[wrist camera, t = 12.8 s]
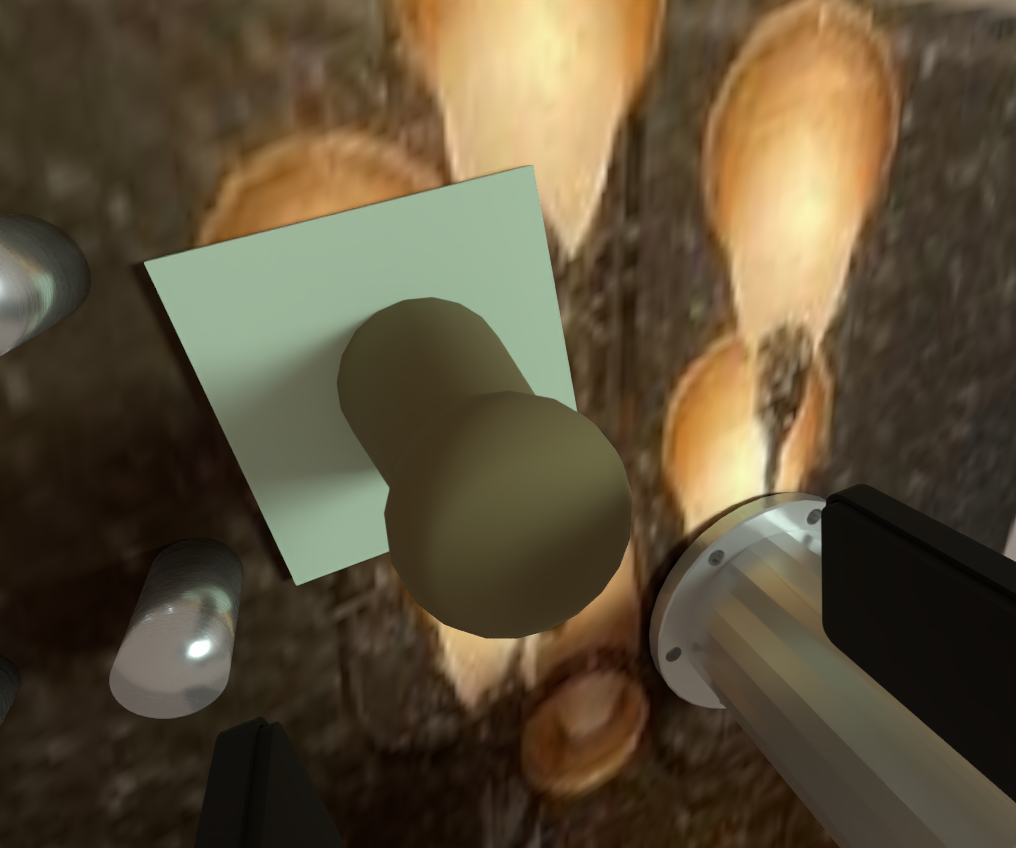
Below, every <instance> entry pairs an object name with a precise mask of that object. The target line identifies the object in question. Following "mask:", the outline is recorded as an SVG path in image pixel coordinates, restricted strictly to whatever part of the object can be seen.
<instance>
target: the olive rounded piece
mask: <svg viewBox="0 0 1016 848" xmlns="http://www.w3.org/2000/svg"><path fill="white" fill-rule="evenodd" d="M337 388H338V394H339V401H340V407H341V410H342V412H343V414H344V416H345V418H346V420H347V422H348V423H349V425H350V427H351V429H352V431H353V433H354V434H355V436H356V437H357V439H358V440H359V442H360V443H361V445H362V447H363V448H364V450H365V451H366V453H367V454H368V456H369V457H370V459H371V461H372V462H373V464H374V465H375V467H376V468H377V470H378V471H379V473H380V475H381V476H382V478H383V479H384V481H385V482H386V484H387V485H388V487H389V493H388V497H387V502H386V506H385V510H384V518H385V525H386V533H387V540H388V547H389V552H390V556H391V561H392V564H393V566H394V568H395V569H396V571H397V573H398V574H399V576H400V578H401V580H402V581H403V583H404V585H405V587H406V588H407V590H408V592H409V593H410V594H411V596H412V597H413V598H414V599H415V601H416V602H417V603H418V605H420V606H421V607H422V608H424V609H425V610H426V611H427V612H429V613H430V614H431V615H433V616H434V617H435V618H436V619H438V620H439V621H440V622H442V623H443V624H445V625H447V626H450V627H453V628H455V629H458V630H461V631H464V632H468V633H471V634H474V635H477V636H480V637H483V638H521V637H525V636H528V635H532V634H536V633H540V632H543V631H547V630H550V629H551V628H553V627H555V626H557V625H559V624H561V623H563V622H564V621H566V620H568V619H570V618H572V617H574V616H575V615H577V614H578V613H579V612H581V611H582V610H583V609H584V608H585V607H586V606H587V605H588V604H590V603H591V602H592V601H593V600H594V599H595V598H596V597H597V596H599V595H600V594H601V593H602V591H603V590H604V589H605V587H606V586H607V584H608V583H609V581H610V580H611V578H612V577H613V576H614V574H615V573H616V571H617V570H618V568H619V567H620V564H621V562H622V559H623V556H624V553H625V550H626V548H627V545H628V542H629V539H630V527H631V506H632V492H631V489H630V486H629V482H628V479H627V476H626V472H625V469H624V466H623V463H622V461H621V459H620V458H619V456H618V454H617V452H616V450H615V449H614V447H613V446H612V445H611V444H610V442H609V441H608V440H607V439H606V437H605V436H604V435H603V434H602V432H601V431H600V430H599V429H598V427H597V426H596V425H595V424H594V423H592V422H591V421H590V420H589V419H587V418H586V417H585V416H583V415H582V414H580V413H578V412H576V411H575V410H573V409H571V408H570V407H568V406H566V405H564V404H563V403H561V402H559V401H557V400H556V399H553V398H548V397H543V396H537V395H535V393H534V392H533V390H532V389H531V387H530V386H529V384H528V382H527V381H526V379H525V378H524V376H523V375H522V373H521V371H520V370H519V368H518V367H517V365H516V364H515V362H514V360H513V359H512V357H511V356H510V354H509V353H508V351H507V349H506V348H505V346H504V345H503V343H502V342H501V340H500V338H499V337H498V336H497V334H496V333H495V332H494V331H493V330H492V328H491V327H490V326H489V325H488V324H487V322H486V321H485V320H484V319H483V317H481V316H480V315H478V314H476V313H475V312H473V311H471V310H470V309H468V308H467V307H465V306H463V305H462V304H460V303H457V302H452V301H448V300H444V299H439V298H435V297H427V298H417V299H407V300H402V301H400V302H398V303H396V304H393V305H391V306H389V307H386V308H384V309H382V310H380V311H377V312H376V313H375V314H374V315H373V316H372V317H371V318H370V319H368V320H367V321H366V322H365V323H364V324H363V325H362V326H361V327H360V328H358V329H357V330H356V331H355V333H354V335H353V337H352V338H351V340H350V342H349V344H348V345H347V347H346V349H345V351H344V353H343V354H342V357H341V362H340V368H339V373H338V378H337Z"/></svg>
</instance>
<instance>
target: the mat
mask: <svg viewBox="0 0 1016 848" xmlns="http://www.w3.org/2000/svg"><path fill="white" fill-rule="evenodd" d="M144 264H145V266H146V268H147V271H148V273H149V275H150V277H151V279H152V281H153V283H154V285H155V288H156V290H157V292H158V294H159V296H160V298H161V300H162V302H163V304H164V307H165V309H166V311H167V313H168V315H169V317H170V319H171V321H172V323H173V326H174V328H175V330H176V332H177V334H178V336H179V338H180V340H181V343H182V345H183V347H184V349H185V351H186V353H187V355H188V357H189V359H190V362H191V364H192V366H193V368H194V370H195V372H196V374H197V376H198V378H199V381H200V383H201V385H202V387H203V389H204V391H205V393H206V395H207V398H208V400H209V402H210V404H211V406H212V408H213V410H214V412H215V414H216V417H217V419H218V421H219V423H220V425H221V427H222V429H223V431H224V433H225V436H226V438H227V440H228V442H229V444H230V446H231V448H232V450H233V453H234V455H235V457H236V459H237V461H238V463H239V465H240V467H241V469H242V472H243V474H244V476H245V478H246V480H247V482H248V484H249V486H250V489H251V491H252V493H253V495H254V497H255V499H256V501H257V503H258V505H259V508H260V510H261V512H262V514H263V516H264V518H265V520H266V522H267V524H268V527H269V529H270V531H271V533H272V535H273V537H274V539H275V541H276V544H277V546H278V548H279V550H280V552H281V554H282V556H283V558H284V560H285V563H286V565H287V567H288V569H289V571H290V573H291V575H292V577H293V579H294V582H295V584H296V586H297V585H299V584H302V583H305V582H307V581H310V580H313V579H316V578H318V577H321V576H324V575H326V574H329V573H332V572H334V571H337V570H340V569H342V568H345V567H348V566H351V565H353V564H356V563H359V562H361V561H364V560H367V559H369V558H372V557H375V556H378V555H380V554H383V553H386V552H388V551H389V547H388V540H387V533H386V525H385V518H384V510H385V506H386V502H387V497H388V493H389V487H388V485H387V484H386V482H385V481H384V479H383V478H382V476H381V475H380V473H379V471H378V470H377V468H376V467H375V465H374V464H373V462H372V461H371V459H370V457H369V456H368V454H367V453H366V451H365V450H364V448H363V447H362V445H361V443H360V442H359V440H358V439H357V437H356V436H355V434H354V433H353V431H352V429H351V427H350V425H349V423H348V422H347V420H346V418H345V416H344V414H343V412H342V410H341V407H340V401H339V394H338V388H337V378H338V373H339V368H340V362H341V357H342V354H343V353H344V351H345V349H346V347H347V345H348V344H349V342H350V340H351V338H352V337H353V335H354V333H355V331H356V330H357V329H358V328H360V327H361V326H362V325H363V324H364V323H365V322H366V321H367V320H368V319H370V318H371V317H372V316H373V315H374V314H375V313H376V312H377V311H380V310H382V309H384V308H386V307H389V306H391V305H393V304H396V303H398V302H400V301H402V300H407V299H417V298H427V297H435V298H439V299H444V300H448V301H452V302H457V303H460V304H462V305H463V306H465V307H467V308H468V309H470V310H471V311H473V312H475V313H476V314H478V315H480V316H481V317H483V319H484V320H485V321H486V322H487V324H488V325H489V326H490V327H491V328H492V330H493V331H494V332H495V333H496V334H497V336H498V337H499V338H500V340H501V342H502V343H503V345H504V346H505V348H506V349H507V351H508V353H509V354H510V356H511V357H512V359H513V360H514V362H515V364H516V365H517V367H518V368H519V370H520V371H521V373H522V375H523V376H524V378H525V379H526V381H527V382H528V384H529V386H530V387H531V389H532V390H533V392H534V393H535V395H537V396H543V397H548V398H553V399H556V400H557V401H559V402H561V403H563V404H564V405H566V406H568V407H570V408H571V409H573V410H575V411H576V412H577V408H576V403H575V397H574V392H573V386H572V380H571V375H570V369H569V363H568V358H567V352H566V347H565V341H564V335H563V330H562V324H561V319H560V313H559V307H558V302H557V296H556V290H555V285H554V279H553V274H552V268H551V262H550V257H549V251H548V245H547V240H546V234H545V229H544V223H543V217H542V212H541V206H540V200H539V195H538V189H537V184H536V178H535V172H534V167H533V165H527V166H523V167H519V168H515V169H511V170H507V171H503V172H499V173H495V174H491V175H487V176H483V177H479V178H475V179H471V180H467V181H463V182H459V183H455V184H451V185H447V186H443V187H439V188H435V189H431V190H427V191H423V192H419V193H415V194H411V195H407V196H403V197H399V198H395V199H391V200H387V201H383V202H379V203H375V204H371V205H367V206H363V207H359V208H355V209H351V210H347V211H343V212H339V213H334V214H330V215H326V216H322V217H318V218H314V219H310V220H306V221H302V222H298V223H294V224H290V225H286V226H282V227H278V228H274V229H270V230H266V231H262V232H258V233H254V234H250V235H246V236H242V237H238V238H234V239H230V240H226V241H222V242H218V243H214V244H210V245H206V246H202V247H198V248H194V249H190V250H186V251H182V252H178V253H174V254H170V255H166V256H162V257H158V258H154V259H150V260H147V261H145V262H144Z"/></svg>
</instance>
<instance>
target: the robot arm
mask: <svg viewBox="0 0 1016 848" xmlns="http://www.w3.org/2000/svg"><path fill="white" fill-rule="evenodd" d="M649 641H650V653H651V655H652V658H653V661H654V664H655V667H656V669H657V670H658V672H659V673H660V674H661V676H662V677H663V679H664V680H665V682H666V683H667V685H668V686H669V687H670V688H671V689H672V690H673V691H674V692H675V693H676V694H677V695H678V696H679V697H680V698H682V699H684V700H686V701H688V702H689V703H691V704H694V705H698V706H702V707H706V708H726V709H727V710H728V711H729V712H730V714H731V715H732V716H733V717H734V718H735V720H736V721H737V722H738V723H739V725H740V726H741V727H742V728H743V729H744V731H745V732H746V733H747V734H748V736H749V737H750V738H751V739H752V741H753V742H754V743H755V744H756V745H757V747H758V748H759V749H760V750H761V752H762V753H763V754H764V755H765V756H766V758H767V759H768V760H769V761H770V763H771V764H772V765H773V766H774V768H775V769H776V770H777V771H778V772H779V774H780V775H781V776H782V777H783V779H784V780H785V781H786V782H787V783H788V785H789V786H790V787H791V788H792V790H793V791H794V792H795V793H796V794H797V796H798V797H799V798H800V799H801V801H802V802H803V803H804V804H805V806H806V807H807V808H808V809H809V810H810V812H811V813H812V814H813V815H814V817H815V818H816V819H817V820H818V821H819V823H820V824H821V825H822V826H823V828H824V829H825V830H826V831H827V832H828V834H829V835H830V836H831V837H832V839H833V840H834V841H835V842H836V844H837V845H838V846H839V847H840V848H1016V562H1015V561H1013V560H1011V559H1009V558H1007V557H1005V556H1004V555H1002V554H1000V553H998V552H996V551H994V550H992V549H990V548H988V547H986V546H984V545H982V544H980V543H979V542H977V541H975V540H973V539H971V538H969V537H967V536H965V535H963V534H961V533H959V532H957V531H955V530H953V529H952V528H950V527H948V526H946V525H944V524H942V523H940V522H938V521H936V520H934V519H932V518H930V517H928V516H927V515H925V514H923V513H921V512H919V511H917V510H915V509H913V508H911V507H909V506H907V505H905V504H903V503H902V502H900V501H898V500H896V499H894V498H892V497H890V496H888V495H886V494H884V493H882V492H880V491H878V490H877V489H875V488H873V487H871V486H868V485H865V484H858V485H855V486H853V487H850V488H847V489H845V490H842V491H840V492H837V493H835V494H832V495H830V496H829V497H828V498H827V500H824V499H823V498H821V497H818V496H814V495H810V494H806V493H781V494H777V495H772V496H767V497H763V498H760V499H758V500H756V501H753V502H751V503H748V504H746V505H743V506H741V507H739V508H738V509H736V510H734V511H733V512H731V513H729V514H728V515H726V516H724V517H723V518H721V519H719V520H718V521H717V522H716V523H714V524H713V525H712V526H711V527H709V528H708V529H707V530H706V531H705V532H703V533H702V534H701V535H700V536H699V537H698V538H697V539H696V540H695V541H694V542H693V543H692V544H691V545H690V546H689V548H688V549H687V550H686V551H685V552H684V553H683V554H682V556H681V557H680V558H679V560H678V561H677V563H676V564H675V565H674V567H673V568H672V570H671V571H670V572H669V574H668V576H667V578H666V580H665V582H664V584H663V586H662V588H661V590H660V592H659V594H658V597H657V600H656V603H655V606H654V609H653V612H652V615H651V623H650V631H649ZM194 848H344V847H343V842H342V839H341V836H340V834H339V831H338V829H337V828H336V826H335V824H334V822H333V820H332V818H331V816H330V814H329V813H328V811H327V809H326V807H325V805H324V803H323V801H322V800H321V798H320V796H319V794H318V792H317V790H316V788H315V786H314V785H313V783H312V781H311V779H310V777H309V775H308V773H307V772H306V770H305V768H304V766H303V764H302V762H301V760H300V758H299V757H298V755H297V753H296V751H295V749H294V747H293V745H292V744H291V742H290V740H289V738H288V736H287V734H286V732H285V730H284V729H283V727H282V725H281V724H280V723H279V722H274V723H272V724H269V725H268V723H267V722H266V720H265V719H264V718H262V717H259V718H256V719H254V720H251V721H248V722H246V723H243V724H241V725H238V726H236V727H233V728H230V729H228V730H225V731H223V732H221V733H220V734H219V735H218V737H217V740H216V743H215V748H214V753H213V758H212V763H211V768H210V773H209V777H208V782H207V787H206V792H205V797H204V802H203V807H202V812H201V817H200V822H199V827H198V832H197V837H196V841H195V846H194Z"/></svg>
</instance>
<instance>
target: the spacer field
mask: <svg viewBox="0 0 1016 848" xmlns="http://www.w3.org/2000/svg"><path fill="white" fill-rule="evenodd" d="M90 284H91V277H90V270H89V266H88V263H87V261H86V258H85V256H84V254H83V253H82V251H81V249H80V248H79V247H78V245H77V244H76V243H75V242H74V241H73V240H72V239H71V238H70V237H69V236H68V235H67V234H66V233H65V232H64V231H62V230H61V229H59V228H58V227H56V226H55V225H53V224H51V223H49V222H47V221H45V220H42V219H40V218H37V217H34V216H30V215H25V214H17V213H3V214H0V356H1V355H3V354H5V353H7V352H8V351H10V350H12V349H13V348H15V347H17V346H19V345H20V344H22V343H24V342H26V341H27V340H29V339H31V338H32V337H34V336H36V335H38V334H39V333H41V332H43V331H44V330H46V329H48V328H50V327H51V326H53V325H55V324H57V323H58V322H60V321H62V320H63V319H65V318H67V317H69V316H70V315H72V314H73V313H75V312H76V311H77V310H78V309H79V308H80V307H81V306H82V304H83V303H84V302H85V300H86V298H87V296H88V293H89V290H90ZM242 580H243V566H242V563H241V560H240V558H239V557H238V555H237V554H236V553H235V552H234V551H233V550H232V549H231V548H230V547H228V546H227V545H225V544H223V543H221V542H218V541H215V540H211V539H205V538H193V539H186V540H182V541H179V542H176V543H174V544H172V545H170V546H168V547H167V548H165V549H164V550H163V551H161V552H160V553H159V554H158V556H157V557H156V558H155V560H154V561H153V563H152V565H151V568H150V571H149V573H148V576H147V578H146V581H145V584H144V586H143V589H142V591H141V594H140V597H139V599H138V602H137V604H136V607H135V610H134V612H133V615H132V617H131V620H130V623H129V625H128V628H127V631H126V633H125V636H124V638H123V641H122V644H121V646H120V649H119V651H118V654H117V657H116V659H115V662H114V664H113V667H112V670H111V673H110V681H109V683H110V689H111V691H112V694H113V695H114V697H115V699H116V700H117V701H118V702H119V703H120V704H121V705H122V706H123V707H124V708H126V709H128V710H129V711H131V712H133V713H136V714H138V715H141V716H145V717H150V718H175V717H181V716H185V715H188V714H191V713H194V712H196V711H199V710H201V709H203V708H204V707H206V706H208V705H209V704H210V703H212V702H213V701H214V700H215V699H216V698H217V697H218V696H219V695H220V694H221V693H222V691H223V690H224V688H225V686H226V684H227V682H228V678H229V673H230V666H231V659H232V651H233V644H234V637H235V630H236V623H237V616H238V609H239V601H240V594H241V587H242ZM20 685H21V680H20V675H19V673H18V671H17V669H16V668H15V666H14V665H13V664H12V663H11V662H9V661H8V660H7V659H5V658H4V657H2V656H0V725H1V723H2V722H3V720H4V718H5V716H6V714H7V712H8V711H9V709H10V707H11V705H12V703H13V702H14V700H15V698H16V696H17V694H18V692H19V689H20Z"/></svg>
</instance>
